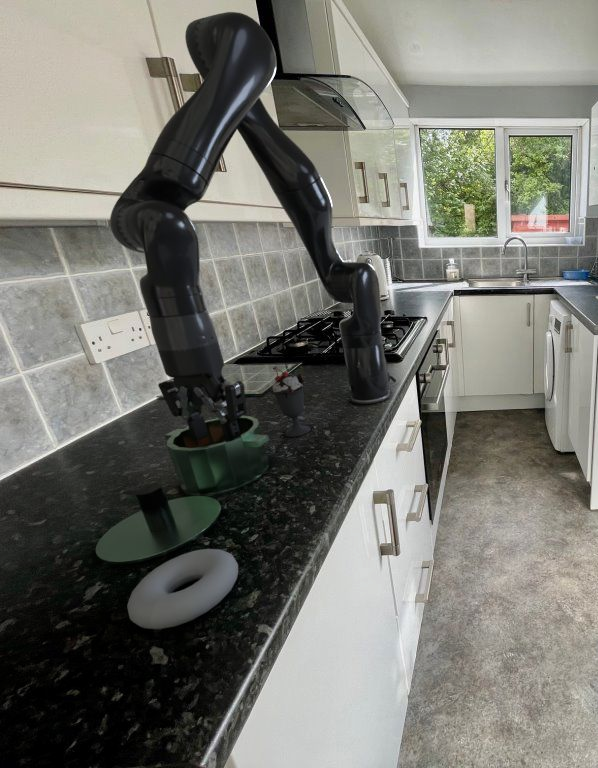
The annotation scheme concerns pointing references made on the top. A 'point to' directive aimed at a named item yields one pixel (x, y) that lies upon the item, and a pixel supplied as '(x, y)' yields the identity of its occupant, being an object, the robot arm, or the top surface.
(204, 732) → the top surface
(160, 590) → the donut
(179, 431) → the pot
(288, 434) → the sundae
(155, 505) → the lid
